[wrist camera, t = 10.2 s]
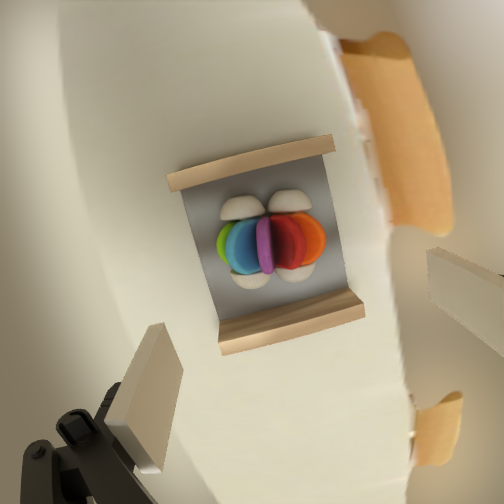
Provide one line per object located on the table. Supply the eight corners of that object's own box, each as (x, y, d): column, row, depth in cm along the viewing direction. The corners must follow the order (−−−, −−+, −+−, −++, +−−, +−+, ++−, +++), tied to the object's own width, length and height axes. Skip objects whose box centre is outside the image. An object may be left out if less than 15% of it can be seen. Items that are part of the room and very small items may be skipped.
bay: (176, 174, 30) (166, 175, 25) (316, 139, 30) (331, 133, 25) (223, 331, 34) (222, 355, 29) (348, 298, 34) (365, 316, 29)
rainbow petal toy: (319, 269, 32) (341, 294, 25) (224, 283, 32) (221, 313, 25) (311, 185, 30) (333, 189, 23) (211, 198, 30) (204, 205, 23)
